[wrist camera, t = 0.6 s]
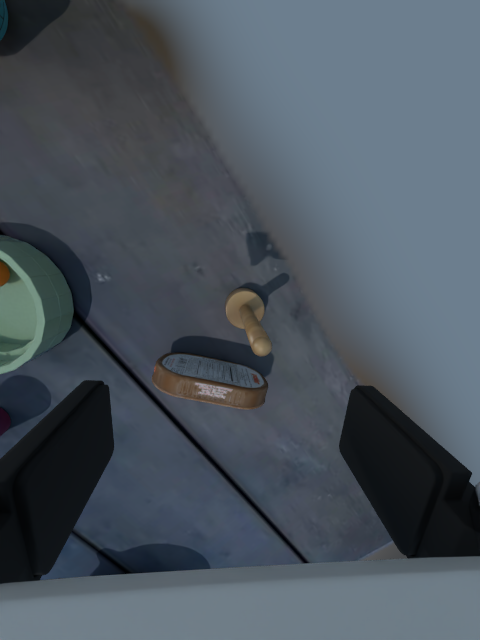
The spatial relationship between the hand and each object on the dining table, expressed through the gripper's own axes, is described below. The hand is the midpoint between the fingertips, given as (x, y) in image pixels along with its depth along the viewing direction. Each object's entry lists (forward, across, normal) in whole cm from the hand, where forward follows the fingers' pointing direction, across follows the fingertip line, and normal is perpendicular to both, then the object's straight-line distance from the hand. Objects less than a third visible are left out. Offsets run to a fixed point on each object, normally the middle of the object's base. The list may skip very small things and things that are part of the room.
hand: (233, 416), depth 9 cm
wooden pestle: (+25, -3, +1) cm, 25 cm away
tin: (+25, +1, +10) cm, 27 cm away
